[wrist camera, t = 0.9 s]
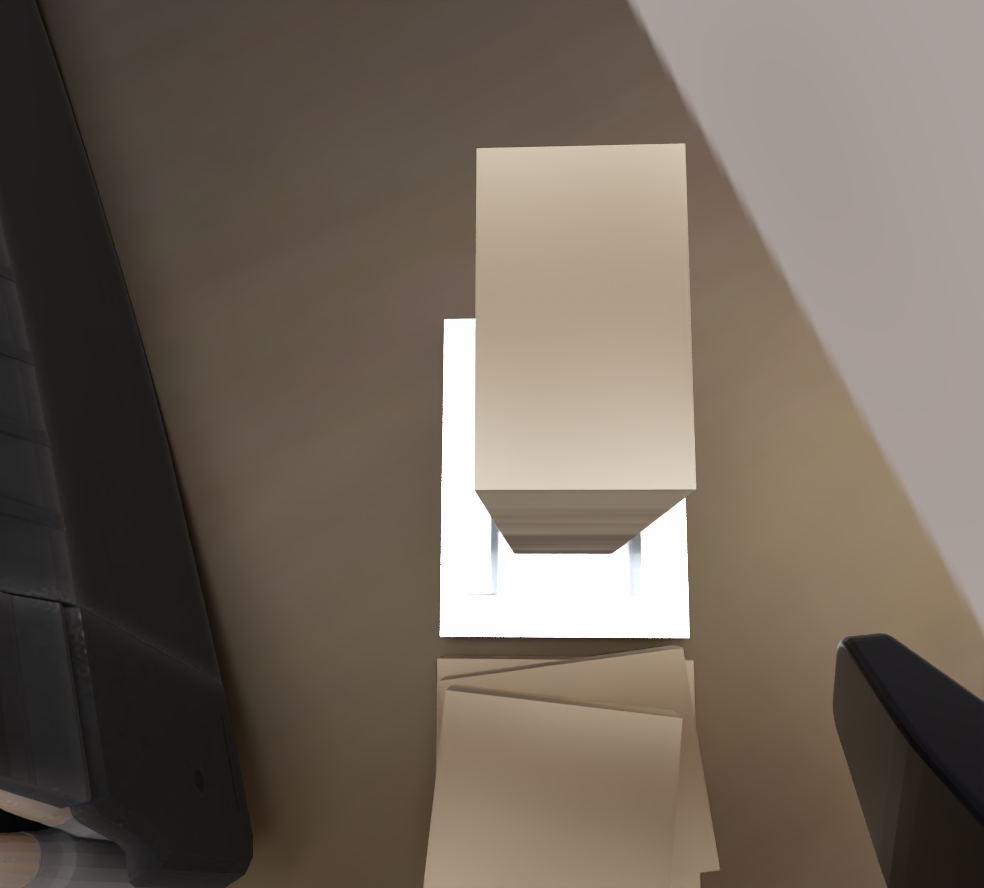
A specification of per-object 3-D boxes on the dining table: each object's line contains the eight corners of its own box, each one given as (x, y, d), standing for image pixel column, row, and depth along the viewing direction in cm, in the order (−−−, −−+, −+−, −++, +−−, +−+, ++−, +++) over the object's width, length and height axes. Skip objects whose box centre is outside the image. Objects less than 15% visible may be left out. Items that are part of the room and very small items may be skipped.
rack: (683, 636, 23) (711, 643, 20) (444, 635, 24) (424, 641, 20) (674, 327, 25) (698, 275, 21) (448, 330, 25) (430, 279, 21)
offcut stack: (698, 870, 23) (735, 935, 18) (441, 865, 23) (416, 928, 18) (691, 642, 23) (725, 651, 19) (444, 641, 24) (421, 649, 19)
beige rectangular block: (612, 553, 23) (695, 489, 10) (514, 553, 23) (473, 489, 10) (609, 393, 24) (685, 142, 11) (514, 394, 24) (477, 148, 11)
